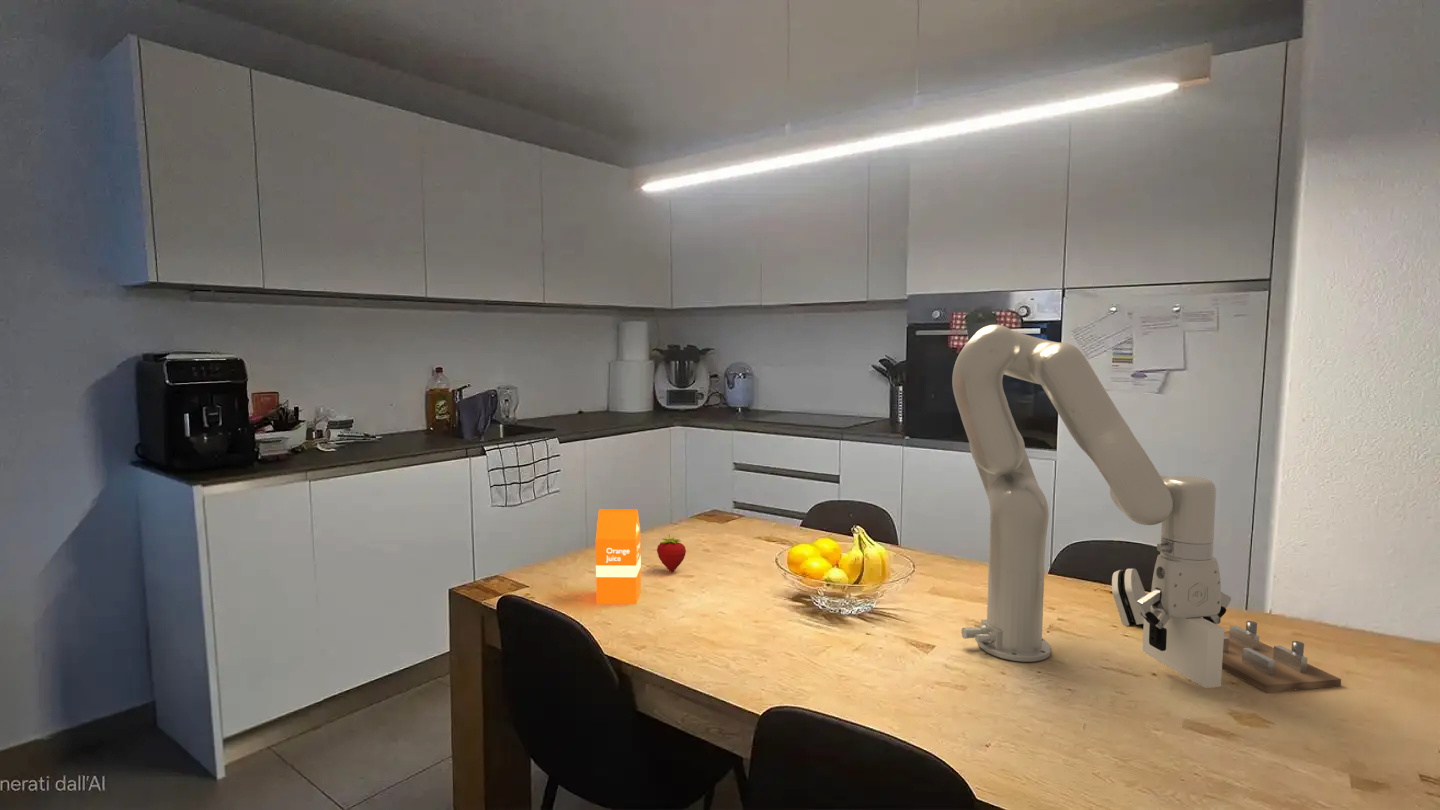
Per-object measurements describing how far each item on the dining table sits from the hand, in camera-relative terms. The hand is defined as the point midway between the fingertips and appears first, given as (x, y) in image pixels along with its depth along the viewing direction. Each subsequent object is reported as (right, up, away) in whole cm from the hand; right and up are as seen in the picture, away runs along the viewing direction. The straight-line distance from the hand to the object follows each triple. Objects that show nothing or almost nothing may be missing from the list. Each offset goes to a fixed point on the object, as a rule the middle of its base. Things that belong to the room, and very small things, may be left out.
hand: (1182, 645), depth 124 cm
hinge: (+6, -2, +26) cm, 26 cm away
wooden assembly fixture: (+14, -4, +3) cm, 14 cm away
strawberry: (-92, 0, +53) cm, 106 cm away
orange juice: (-103, -1, +35) cm, 109 cm away
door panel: (0, -4, 0) cm, 4 cm away
